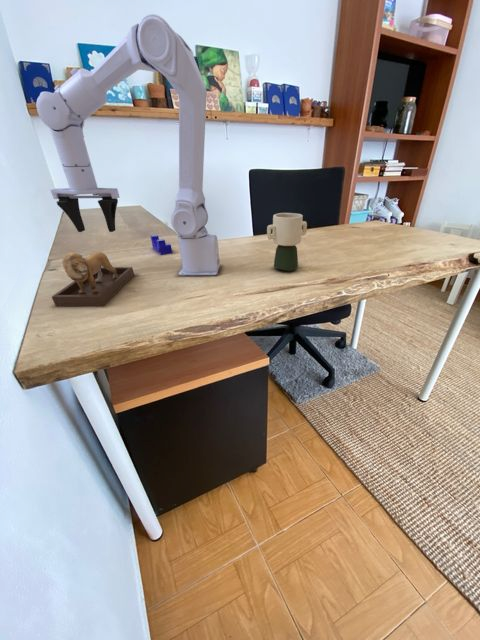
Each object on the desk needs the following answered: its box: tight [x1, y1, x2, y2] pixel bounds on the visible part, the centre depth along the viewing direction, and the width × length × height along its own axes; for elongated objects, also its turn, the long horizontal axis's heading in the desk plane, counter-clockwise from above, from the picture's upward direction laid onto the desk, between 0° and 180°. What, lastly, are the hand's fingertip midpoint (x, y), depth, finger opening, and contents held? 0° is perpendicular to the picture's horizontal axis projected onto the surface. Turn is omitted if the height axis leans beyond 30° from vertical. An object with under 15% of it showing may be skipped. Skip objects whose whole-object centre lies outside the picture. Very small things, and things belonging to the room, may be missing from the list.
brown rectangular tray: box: [51, 266, 135, 307], centre depth 66 cm, size 10×18×2 cm, turn 0°
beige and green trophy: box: [266, 212, 308, 272], centre depth 73 cm, size 11×7×13 cm, turn 115°
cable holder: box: [150, 234, 173, 256], centre depth 90 cm, size 8×4×4 cm, turn 33°
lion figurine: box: [61, 251, 118, 293], centre depth 63 cm, size 15×5×9 cm, turn 0°
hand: (97, 231), depth 72 cm, fingers open, 7 cm apart
